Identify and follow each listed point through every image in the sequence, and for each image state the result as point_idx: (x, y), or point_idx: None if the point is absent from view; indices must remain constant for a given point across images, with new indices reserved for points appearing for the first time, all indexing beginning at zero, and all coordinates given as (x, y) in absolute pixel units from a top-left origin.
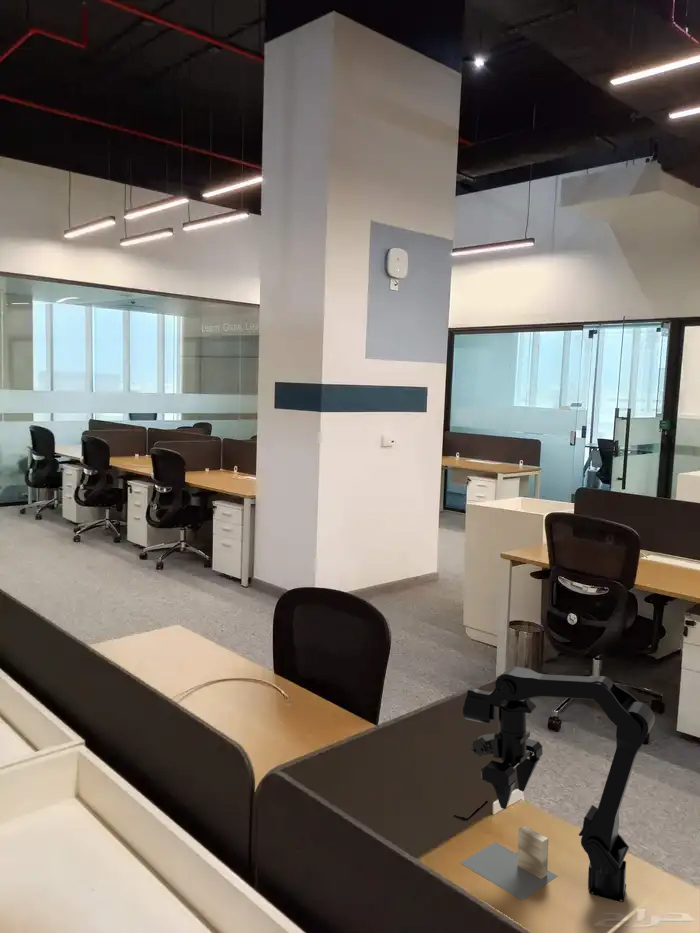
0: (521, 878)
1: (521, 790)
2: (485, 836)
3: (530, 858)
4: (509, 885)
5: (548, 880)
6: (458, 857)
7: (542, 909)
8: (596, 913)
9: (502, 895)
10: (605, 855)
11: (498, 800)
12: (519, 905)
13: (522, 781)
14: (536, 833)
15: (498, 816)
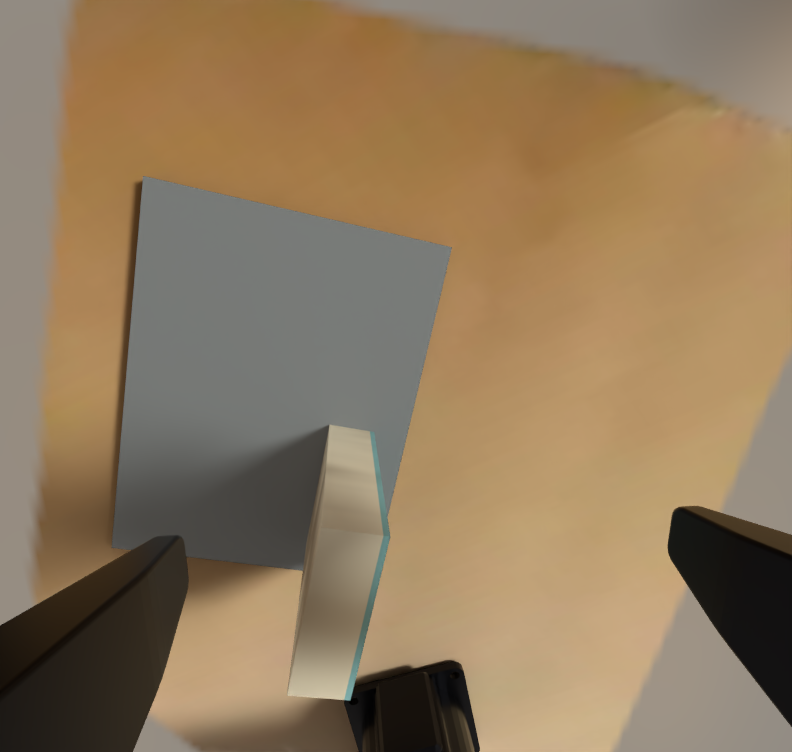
0: (251, 479)
1: (672, 535)
2: (489, 166)
3: (312, 527)
4: (162, 463)
5: None
6: (211, 132)
7: None
8: (266, 734)
9: (100, 455)
10: None
11: (67, 588)
12: (95, 535)
13: (765, 625)
14: (352, 631)
15: (713, 135)
